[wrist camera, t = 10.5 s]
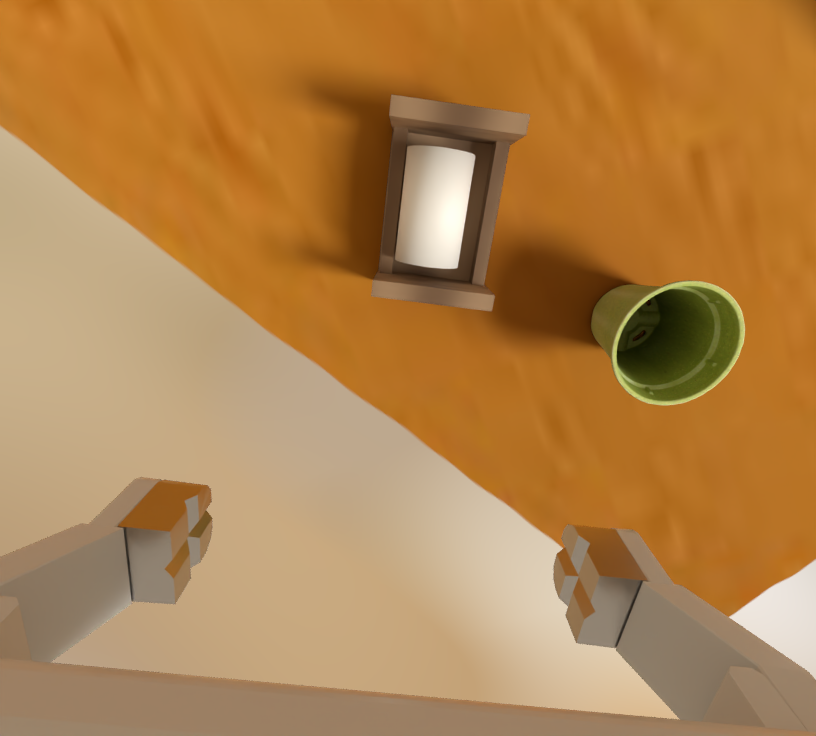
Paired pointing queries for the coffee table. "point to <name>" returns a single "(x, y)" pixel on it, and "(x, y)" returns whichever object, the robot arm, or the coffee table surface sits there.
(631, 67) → the coffee table surface
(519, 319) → the coffee table surface
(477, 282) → the walnut cradle
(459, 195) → the paper roll
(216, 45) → the coffee table surface
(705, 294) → the plant pot
